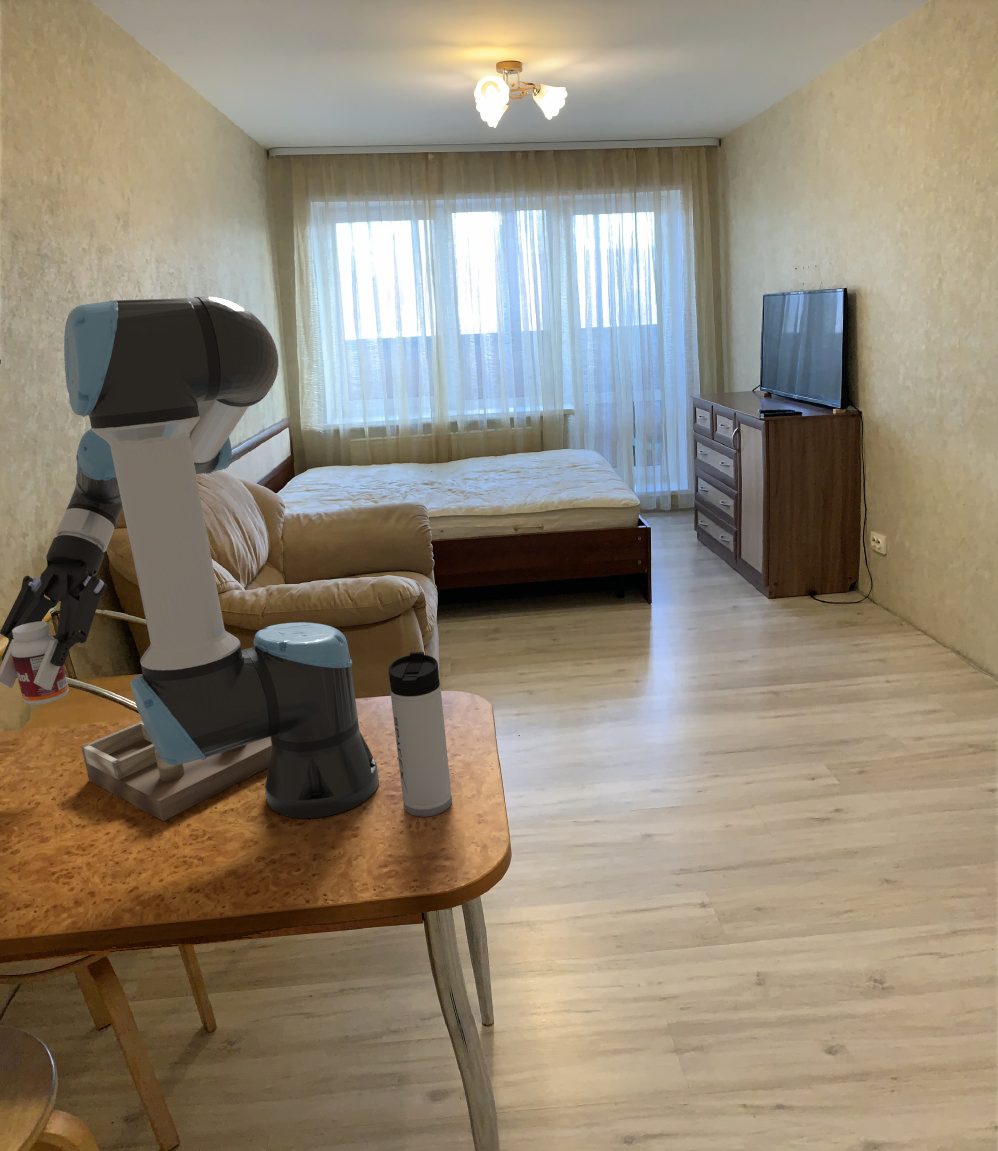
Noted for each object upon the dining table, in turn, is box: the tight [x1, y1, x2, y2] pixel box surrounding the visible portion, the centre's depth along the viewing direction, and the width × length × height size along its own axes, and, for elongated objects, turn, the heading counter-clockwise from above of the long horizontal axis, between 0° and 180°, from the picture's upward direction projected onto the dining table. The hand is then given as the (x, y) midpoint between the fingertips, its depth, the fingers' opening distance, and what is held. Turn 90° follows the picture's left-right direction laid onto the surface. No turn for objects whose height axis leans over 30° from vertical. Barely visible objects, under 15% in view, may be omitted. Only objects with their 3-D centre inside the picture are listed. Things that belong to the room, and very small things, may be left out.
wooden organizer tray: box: [80, 720, 272, 822], centre depth 128 cm, size 20×20×7 cm
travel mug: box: [388, 651, 453, 818], centre depth 112 cm, size 6×7×20 cm
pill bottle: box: [11, 621, 70, 705], centre depth 129 cm, size 6×6×11 cm
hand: (22, 685), depth 126 cm, fingers closed on pill bottle, 6 cm apart
